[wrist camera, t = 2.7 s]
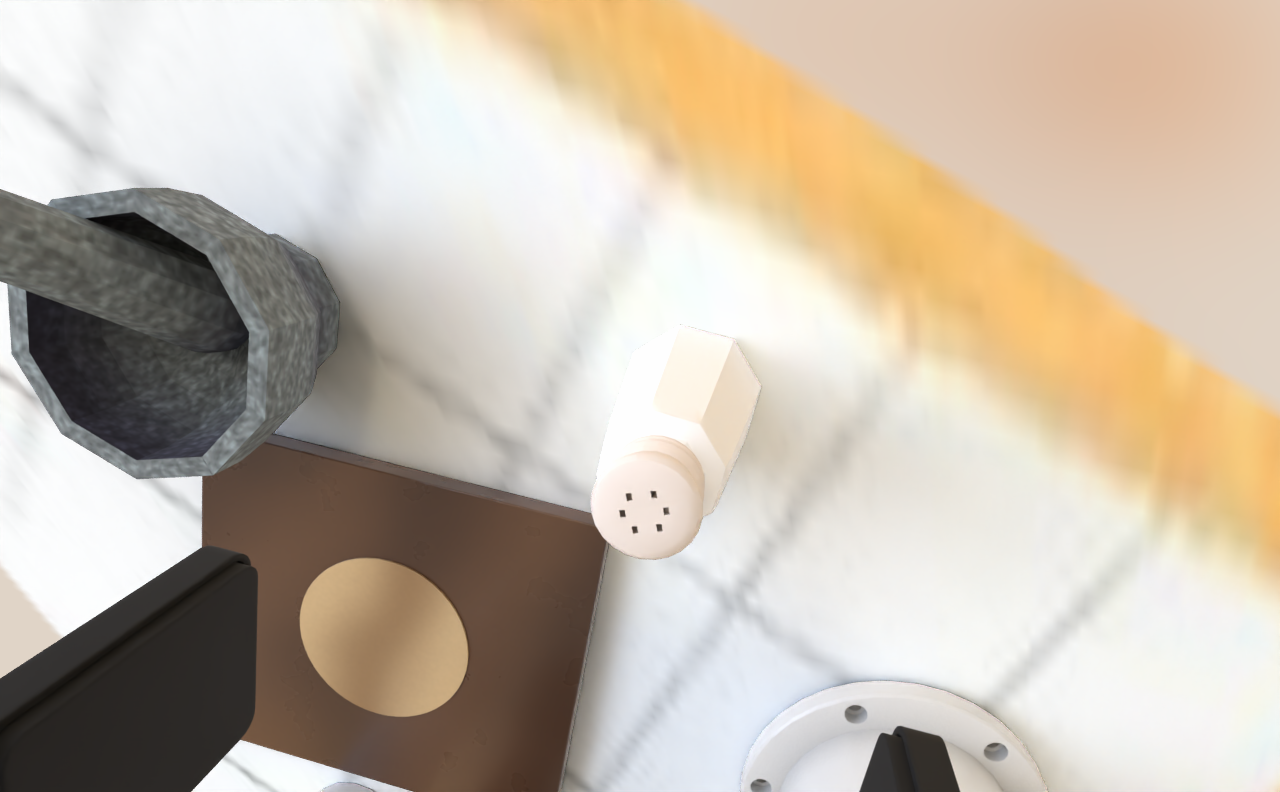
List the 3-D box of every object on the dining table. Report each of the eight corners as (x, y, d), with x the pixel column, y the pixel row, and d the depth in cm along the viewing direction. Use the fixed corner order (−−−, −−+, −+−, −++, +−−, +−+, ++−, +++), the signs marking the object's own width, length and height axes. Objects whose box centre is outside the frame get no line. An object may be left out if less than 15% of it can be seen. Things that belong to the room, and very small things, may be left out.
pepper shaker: (633, 464, 30) (558, 616, 19) (611, 332, 28) (517, 417, 18) (769, 452, 28) (769, 606, 18) (753, 314, 27) (742, 394, 17)
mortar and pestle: (419, 375, 30) (205, 489, 19) (245, 452, 33) (-37, 595, 21) (282, 109, 28) (-51, 56, 17) (109, 213, 30) (-286, 228, 19)
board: (614, 518, 30) (608, 530, 29) (556, 816, 35) (549, 835, 34) (218, 419, 32) (199, 427, 31) (214, 714, 37) (198, 729, 36)
